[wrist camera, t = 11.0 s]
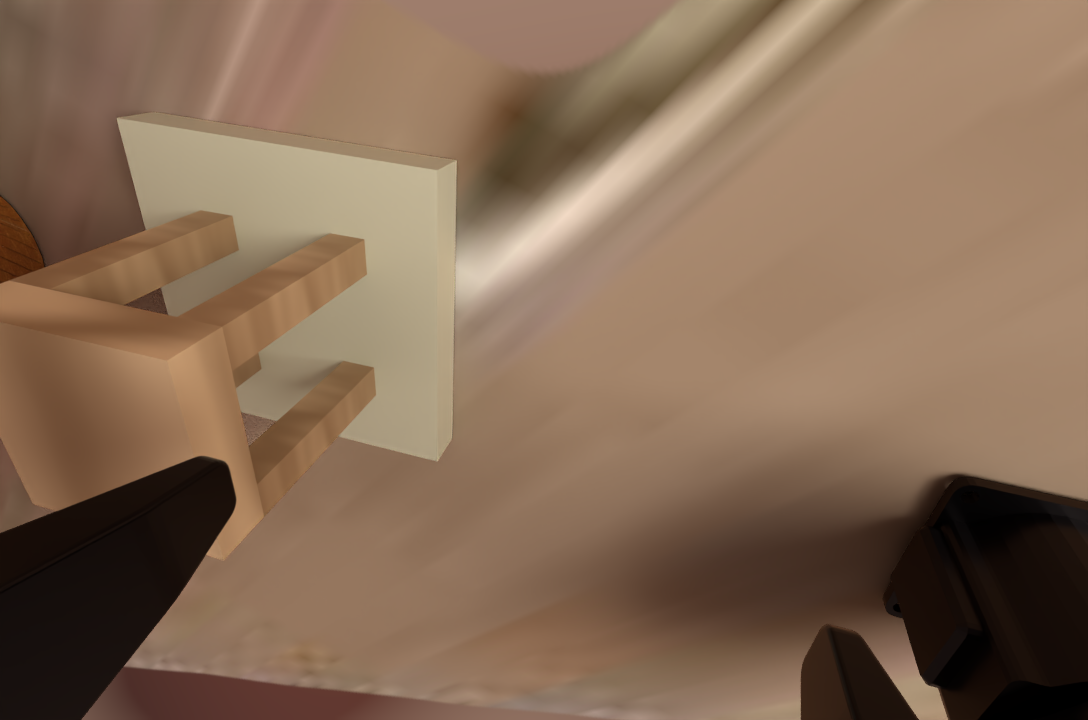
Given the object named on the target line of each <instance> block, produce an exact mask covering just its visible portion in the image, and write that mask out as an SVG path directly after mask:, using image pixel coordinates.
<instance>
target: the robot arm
mask: <svg viewBox="0 0 1088 720" xmlns="http://www.w3.org/2000/svg"><path fill="white" fill-rule="evenodd" d="M968 491H974V492H973V493H972V494H969V495H962V494H963V493H965V492H968ZM236 500H237V499H236V493H235V489H234V485H233V481H232V477H231V472H230V468H229V466H228V464H227V463H226V462H225V461H223V460H219V459H216V458H212V457H208V456H197V457H194V458H191V459H189V460H186V461H184V462H181V463H179V464H176V465H173V466H171V467H168V468H166V469H163V470H161V471H158V472H156V473H153V474H150V475H148V476H145V477H143V478H140V479H138V480H135V481H133V482H130V483H127V484H125V485H122V486H120V487H117V488H115V489H112V490H110V491H107V492H104V493H102V494H99V495H97V496H94V497H92V498H89V499H87V500H84V501H81V502H79V503H76V504H74V505H71V506H69V507H66V508H64V509H61V510H58V511H56V512H53V513H51V514H48V515H46V516H43V517H40V518H38V519H35V520H33V521H30V522H28V523H25V524H23V525H20V526H17V527H15V528H12V529H10V530H7V531H5V532H2V533H0V720H82V718H83V717H84V716H85V714H86V713H87V712H88V711H89V709H90V708H91V707H92V706H93V704H94V703H95V702H96V701H97V699H98V698H99V697H100V696H101V694H102V693H103V692H104V691H105V689H106V688H107V687H108V685H109V684H110V683H111V682H112V680H113V679H114V678H115V677H116V675H117V674H118V673H119V672H120V670H121V669H122V668H123V667H124V665H125V664H126V663H127V661H128V660H129V659H130V658H131V656H132V655H133V654H134V653H135V651H136V650H137V649H138V648H139V646H140V645H141V644H142V643H143V641H144V640H145V639H146V638H147V636H148V635H149V634H150V632H151V631H152V630H153V629H154V627H155V626H156V625H157V624H158V622H159V621H160V620H161V619H162V617H163V616H164V615H165V614H166V612H167V611H168V610H169V608H170V607H171V606H172V604H173V603H174V602H175V600H176V599H177V598H178V596H179V595H180V593H181V592H182V590H183V589H184V587H185V586H186V585H187V583H188V582H189V580H190V578H191V577H192V575H193V574H194V572H195V571H196V569H197V568H198V566H199V565H200V563H201V562H202V560H203V559H204V557H205V555H206V554H207V552H208V551H209V549H210V548H211V546H212V545H213V543H214V542H215V540H216V539H217V537H218V536H219V534H220V533H221V531H222V529H223V528H224V526H225V525H226V523H227V522H228V520H229V519H230V517H231V516H232V514H233V512H234V509H235V506H236ZM891 581H892V582H891V584H890V585H889V587H888V589H887V590H886V592H885V594H884V596H883V601H884V605H885V608H886V611H887V612H888V613H889V614H891V615H893V616H896V617H900V618H903V620H904V623H905V627H906V630H907V633H908V637H909V640H910V643H911V647H912V650H913V653H914V656H915V660H916V663H917V666H918V670H919V673H920V675H921V677H922V678H923V680H924V681H925V683H926V684H927V685H929V686H933V687H936V688H938V689H939V692H940V696H941V699H942V702H943V705H944V708H945V711H946V714H947V717H948V720H1088V503H1086V502H1082V501H1077V500H1073V499H1068V498H1064V497H1059V496H1055V495H1050V494H1046V493H1041V492H1036V491H1032V490H1027V489H1023V488H1018V487H1014V486H1009V485H1005V484H1000V483H996V482H991V481H987V480H982V479H978V478H973V477H963V478H958V479H956V480H954V481H953V482H952V483H951V484H950V485H949V486H948V488H947V490H946V491H945V493H944V495H943V496H942V498H941V500H940V501H939V503H938V505H937V506H936V508H935V510H934V511H933V513H932V515H931V516H930V518H929V520H928V521H927V523H926V525H925V526H923V527H922V528H920V529H919V530H918V531H917V532H916V534H915V536H914V537H913V539H912V541H911V543H910V544H909V546H908V548H907V549H906V551H905V553H904V554H903V556H902V558H901V559H900V561H899V563H898V565H897V566H896V568H895V570H894V571H893V573H892V575H891ZM801 720H919V719H918V718H917V716H916V715H915V714H914V712H913V711H912V709H911V708H910V706H909V705H908V703H907V702H906V700H905V699H904V698H903V696H902V695H901V693H900V692H899V690H898V689H897V687H896V686H895V684H894V683H893V681H892V680H891V679H890V677H889V676H888V674H887V673H886V671H885V670H884V668H883V667H882V665H881V664H880V663H879V661H878V660H877V658H876V657H875V655H874V654H873V652H872V651H871V649H870V648H869V647H868V645H867V644H866V642H865V641H864V639H863V638H862V637H861V636H860V635H859V634H858V633H857V632H855V631H853V630H849V629H846V628H842V627H838V626H834V625H831V624H826V625H824V626H822V628H821V629H820V630H819V632H818V634H817V636H816V638H815V640H814V642H813V643H812V645H811V647H810V649H809V651H808V653H807V655H806V656H805V659H804V661H803V664H802V670H801Z"/></svg>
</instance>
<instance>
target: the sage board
mask: <svg viewBox="0 0 1088 720" xmlns="http://www.w3.org/2000/svg"><path fill="white" fill-rule="evenodd" d="M117 122H118V126H119V130H120V134H121V137H122V141H123V145H124V149H125V153H126V157H127V160H128V164H129V168H130V172H131V176H132V179H133V183H134V187H135V191H136V195H137V198H138V202H139V206H140V210H141V214H142V218H143V221H144V225H145V229H146V230H148V229H151V228H154V227H157V226H159V225H162V224H165V223H168V222H170V221H173V220H176V219H178V218H181V217H184V216H187V215H189V214H192V213H195V212H198V211H200V210H203V211H208V212H214V213H220V214H225V215H231V216H233V221H234V227H235V232H236V237H237V242H238V248H239V250H238V251H236V252H234V253H232V254H230V255H228V256H226V257H223V258H221V259H219V260H217V261H215V262H213V263H211V264H209V265H207V266H205V267H203V268H200V269H198V270H196V271H194V272H192V273H190V274H188V275H186V276H184V277H182V278H179V279H177V280H175V281H173V282H171V283H169V284H167V285H165V286H163V287H161V290H162V294H163V298H164V301H165V305H166V309H167V313H168V315H170V316H175V317H178V316H180V315H181V314H183V313H185V312H187V311H189V310H191V309H192V308H194V307H196V306H198V305H200V304H202V303H203V302H205V301H207V300H209V299H211V298H213V297H214V296H216V295H218V294H220V293H222V292H224V291H225V290H227V289H229V288H231V287H233V286H235V285H236V284H238V283H240V282H242V281H244V280H246V279H247V278H249V277H251V276H253V275H255V274H257V273H258V272H260V271H262V270H264V269H266V268H268V267H269V266H271V265H273V264H275V263H277V262H279V261H280V260H282V259H284V258H286V257H288V256H290V255H291V254H293V253H295V252H297V251H299V250H301V249H302V248H304V247H306V246H308V245H310V244H312V243H313V242H315V241H317V240H319V239H321V238H323V237H324V236H326V235H328V234H330V233H332V234H337V235H343V236H349V237H354V238H360V239H364V241H365V254H366V267H367V275H366V276H364V277H363V278H361V279H360V280H359V281H357V282H356V283H354V284H353V285H352V286H350V287H349V288H347V289H346V290H345V291H343V292H342V293H340V294H339V295H338V296H336V297H335V298H334V299H332V300H331V301H329V302H328V303H327V304H325V305H324V306H322V307H321V308H320V309H318V310H317V311H315V312H314V313H313V314H311V315H310V316H308V317H307V318H306V319H304V320H303V321H302V322H300V323H299V324H297V325H296V326H295V327H293V328H292V329H290V330H289V331H288V332H286V333H285V334H283V335H282V336H281V337H279V338H278V339H276V340H275V341H274V342H272V343H271V344H269V345H268V346H267V347H265V348H264V349H263V350H261V351H260V352H258V353H259V358H260V363H261V368H262V369H261V370H260V371H258V372H257V373H256V374H254V375H253V376H252V377H250V378H249V379H248V380H246V381H245V382H244V383H242V384H241V385H240V386H238V387H237V388H236V392H237V396H238V401H239V405H240V410H241V412H242V413H246V414H250V415H254V416H258V417H262V418H266V419H270V420H274V421H278V420H279V419H280V418H281V417H282V416H283V415H284V414H286V413H287V412H288V411H289V410H290V409H291V408H292V407H293V406H294V405H295V404H297V403H298V402H299V401H300V400H301V399H302V398H303V397H304V396H305V395H307V394H308V393H309V392H310V391H311V390H312V389H313V388H314V387H315V386H317V385H318V384H319V383H320V382H321V381H322V380H323V379H324V378H325V377H326V376H328V375H329V374H330V373H331V372H332V371H333V370H334V369H335V368H336V367H338V366H339V365H340V364H341V363H342V362H343V361H347V362H351V363H356V364H360V365H365V366H370V367H374V373H375V386H376V396H375V397H374V398H373V399H372V400H371V401H370V402H369V403H368V404H367V406H366V407H365V408H364V409H363V410H362V411H361V412H360V413H359V414H358V415H357V416H356V418H355V419H354V420H353V421H352V422H351V423H350V424H349V425H348V426H347V427H346V428H345V429H344V431H343V432H342V433H341V434H340V435H339V436H338V437H342V438H346V439H350V440H353V441H357V442H361V443H365V444H369V445H373V446H377V447H381V448H385V449H389V450H393V451H397V452H401V453H405V454H409V455H413V456H417V457H421V458H425V459H429V460H433V461H437V462H438V460H439V458H440V457H441V455H442V454H443V452H444V451H445V449H446V448H447V446H448V444H449V443H450V441H451V440H452V425H453V362H454V300H455V237H456V175H457V160H453V159H447V158H441V157H434V156H428V155H422V154H416V153H409V152H403V151H397V150H390V149H384V148H378V147H372V146H365V145H359V144H353V143H346V142H340V141H334V140H328V139H321V138H315V137H309V136H302V135H296V134H290V133H284V132H277V131H271V130H265V129H259V128H252V127H246V126H240V125H233V124H227V123H221V122H215V121H208V120H202V119H196V118H189V117H183V116H177V115H171V114H164V113H158V112H150V113H144V114H138V115H132V116H125V117H119V118H117Z"/></svg>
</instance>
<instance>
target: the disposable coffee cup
mask: <svg viewBox="0 0 1088 720" xmlns="http://www.w3.org/2000/svg"><path fill="white" fill-rule="evenodd" d="M42 268H44V264H43V259H42V256H41V254H40V251H39V249H38V246H37V244H36V242H35V240H34V238H33V236H32V234H31V233H30V231H29V230H28V228H27V227H26V225H25V224H24V222H23V221H22V219H21V218H20V217H19V215H18V214H17V213H16V212H15V210H14V209H13V208H12V206H10V205H9V204H8V203H7V202H6V201H5V200H4V199H3V198H2V197H1V196H0V284H1V283H4V282H6V281H9V280H12V279H14V278H17V277H20V276H23V275H25V274H28V273H31V272H34V271H36V270H39V269H42Z"/></svg>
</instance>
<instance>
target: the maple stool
mask: <svg viewBox="0 0 1088 720" xmlns="http://www.w3.org/2000/svg"><path fill="white" fill-rule="evenodd" d="M238 250H239V248H238V242H237V237H236V232H235V227H234V221H233V216H231V215H225V214H220V213H214V212H208V211H203V210H200V211H198V212H195V213H192V214H189V215H187V216H184V217H181V218H178V219H176V220H173V221H170V222H168V223H165V224H162V225H159V226H157V227H154V228H151V229H148V230H146V231H143V232H140V233H137V234H135V235H132V236H129V237H127V238H124V239H121V240H118V241H116V242H113V243H110V244H107V245H105V246H102V247H99V248H96V249H94V250H91V251H88V252H86V253H83V254H80V255H77V256H75V257H72V258H69V259H66V260H64V261H61V262H58V263H55V264H53V265H50V266H47V267H45V268H42V269H39V270H36V271H34V272H31V273H28V274H25V275H23V276H20V277H17V278H14V279H12V280H9V281H6V282H4V283H1V284H0V438H1V440H2V442H3V444H4V446H5V448H6V450H7V452H8V454H9V456H10V458H11V460H12V462H13V464H14V466H15V468H16V470H17V472H18V475H19V477H20V479H21V481H22V483H23V485H24V487H25V489H26V491H27V493H28V495H29V497H30V499H31V501H32V503H33V504H34V505H37V506H41V507H44V508H47V509H51V510H54V511H58V510H61V509H64V508H66V507H69V506H71V505H74V504H76V503H79V502H81V501H84V500H87V499H89V498H92V497H94V496H97V495H99V494H102V493H104V492H107V491H110V490H112V489H115V488H117V487H120V486H122V485H125V484H127V483H130V482H133V481H135V480H138V479H140V478H143V477H145V476H148V475H150V474H153V473H156V472H158V471H161V470H163V469H166V468H168V467H171V466H173V465H176V464H179V463H181V462H184V461H186V460H189V459H191V458H194V457H197V456H208V457H212V458H216V459H219V460H223V461H225V462H226V463H227V464H228V466H229V468H230V472H231V477H232V481H233V485H234V489H235V493H236V499H237V500H236V506H235V509H234V512H233V514H232V516H231V517H230V519H229V520H228V522H227V523H226V525H225V526H224V528H223V529H222V531H221V533H220V534H219V536H218V537H217V539H216V540H215V542H214V543H213V545H212V546H211V548H210V549H209V551H208V552H207V554H206V555H207V556H210V557H213V558H217V559H220V560H225V559H226V558H227V557H228V556H229V554H230V553H231V552H232V551H233V550H234V549H235V548H236V547H237V546H238V545H239V544H240V542H241V541H242V540H243V539H244V538H245V537H246V536H247V535H248V534H249V533H250V532H251V531H252V529H253V528H254V527H255V526H256V525H257V524H258V523H259V522H260V521H261V520H262V519H263V517H264V516H265V515H266V514H267V513H268V512H269V511H270V510H271V509H272V508H273V507H274V506H275V504H276V503H277V502H278V501H279V500H280V499H281V498H282V497H283V496H284V495H285V494H286V492H287V491H288V490H289V489H290V488H291V487H292V486H293V485H294V484H295V483H296V482H297V481H298V479H299V478H300V477H301V476H302V475H303V474H304V473H305V472H306V471H307V470H308V469H309V467H310V466H311V465H312V464H313V463H314V462H315V461H316V460H317V459H318V458H319V457H320V456H321V454H322V453H323V452H324V451H325V450H326V449H327V448H328V447H329V446H330V445H331V444H332V443H333V441H334V440H335V439H336V438H337V437H338V436H339V435H340V434H341V433H342V432H343V431H344V429H345V428H346V427H347V426H348V425H349V424H350V423H351V422H352V421H353V420H354V419H355V418H356V416H357V415H358V414H359V413H360V412H361V411H362V410H363V409H364V408H365V407H366V406H367V404H368V403H369V402H370V401H371V400H372V399H373V398H374V397H375V396H376V386H375V373H374V367H370V366H365V365H360V364H356V363H351V362H347V361H343V362H342V363H341V364H340V365H339V366H338V367H336V368H335V369H334V370H333V371H332V372H331V373H330V374H329V375H328V376H326V377H325V378H324V379H323V380H322V381H321V382H320V383H319V384H318V385H317V386H315V387H314V388H313V389H312V390H311V391H310V392H309V393H308V394H307V395H305V396H304V397H303V398H302V399H301V400H300V401H299V402H298V403H297V404H295V405H294V406H293V407H292V408H291V409H290V410H289V411H288V412H287V413H286V414H284V415H283V416H282V417H281V418H280V419H279V420H278V421H277V422H276V423H274V424H273V425H272V426H271V427H270V428H269V429H268V430H267V431H266V432H264V433H263V434H262V435H261V436H260V437H259V438H258V439H257V440H256V441H255V442H253V443H252V444H251V445H250V446H248V441H247V437H246V432H245V428H244V423H243V419H242V414H241V410H240V405H239V401H238V396H237V392H236V388H237V387H238V386H240V385H241V384H242V383H244V382H245V381H246V380H248V379H249V378H250V377H252V376H253V375H254V374H256V373H257V372H258V371H260V370H261V369H262V368H261V363H260V358H259V353H258V352H260V351H261V350H263V349H264V348H265V347H267V346H268V345H269V344H271V343H272V342H274V341H275V340H276V339H278V338H279V337H281V336H282V335H283V334H285V333H286V332H288V331H289V330H290V329H292V328H293V327H295V326H296V325H297V324H299V323H300V322H302V321H303V320H304V319H306V318H307V317H308V316H310V315H311V314H313V313H314V312H315V311H317V310H318V309H320V308H321V307H322V306H324V305H325V304H327V303H328V302H329V301H331V300H332V299H334V298H335V297H336V296H338V295H339V294H340V293H342V292H343V291H345V290H346V289H347V288H349V287H350V286H352V285H353V284H354V283H356V282H357V281H359V280H360V279H361V278H363V277H364V276H366V275H367V267H366V254H365V241H364V239H360V238H354V237H349V236H343V235H337V234H332V233H330V234H328V235H326V236H324V237H323V238H321V239H319V240H317V241H315V242H313V243H312V244H310V245H308V246H306V247H304V248H302V249H301V250H299V251H297V252H295V253H293V254H291V255H290V256H288V257H286V258H284V259H282V260H280V261H279V262H277V263H275V264H273V265H271V266H269V267H268V268H266V269H264V270H262V271H260V272H258V273H257V274H255V275H253V276H251V277H249V278H247V279H246V280H244V281H242V282H240V283H238V284H236V285H235V286H233V287H231V288H229V289H227V290H225V291H224V292H222V293H220V294H218V295H216V296H214V297H213V298H211V299H209V300H207V301H205V302H203V303H202V304H200V305H198V306H196V307H194V308H192V309H191V310H189V311H187V312H185V313H183V314H181V315H180V316H178V317H175V316H170V315H165V314H161V313H156V312H152V311H147V310H142V309H138V308H133V307H129V306H124V305H125V304H127V303H129V302H131V301H133V300H135V299H138V298H140V297H142V296H144V295H146V294H148V293H150V292H152V291H154V290H156V289H159V288H161V287H163V286H165V285H167V284H169V283H171V282H173V281H175V280H177V279H179V278H182V277H184V276H186V275H188V274H190V273H192V272H194V271H196V270H198V269H200V268H203V267H205V266H207V265H209V264H211V263H213V262H215V261H217V260H219V259H221V258H223V257H226V256H228V255H230V254H232V253H234V252H236V251H238Z"/></svg>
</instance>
